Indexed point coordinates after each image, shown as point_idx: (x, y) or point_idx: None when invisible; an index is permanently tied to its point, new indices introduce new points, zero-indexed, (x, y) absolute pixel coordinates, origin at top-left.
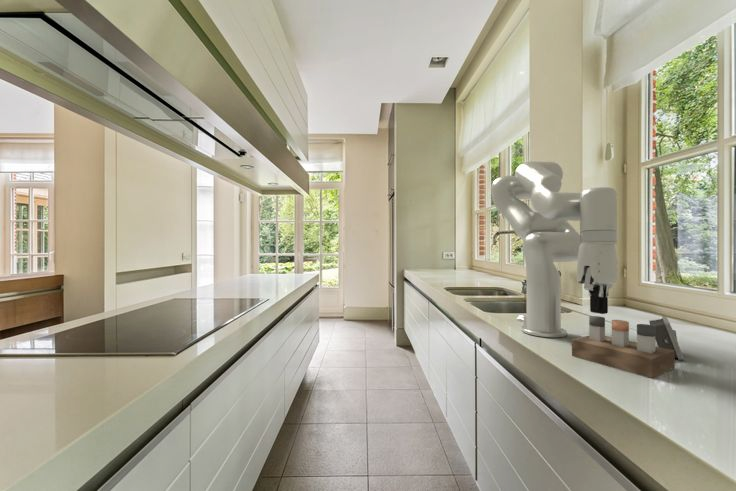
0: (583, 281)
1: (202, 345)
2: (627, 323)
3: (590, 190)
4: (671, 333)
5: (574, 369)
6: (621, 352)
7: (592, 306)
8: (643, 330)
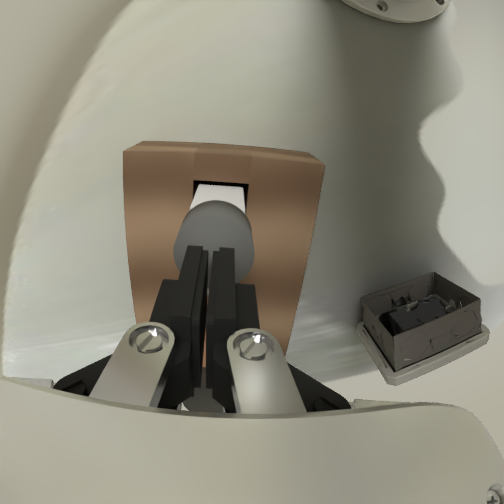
0: (64, 409)
1: None
2: (204, 365)
3: None
4: (377, 364)
5: (45, 213)
6: (134, 308)
7: (161, 287)
8: None
